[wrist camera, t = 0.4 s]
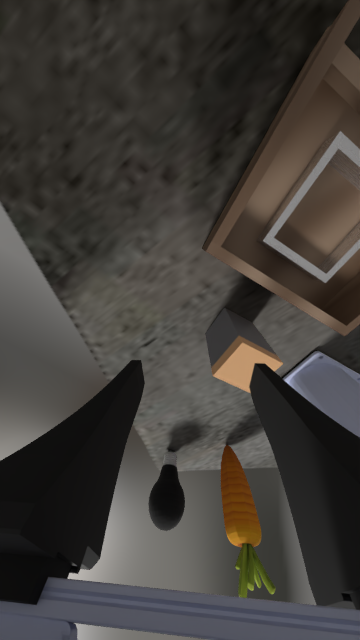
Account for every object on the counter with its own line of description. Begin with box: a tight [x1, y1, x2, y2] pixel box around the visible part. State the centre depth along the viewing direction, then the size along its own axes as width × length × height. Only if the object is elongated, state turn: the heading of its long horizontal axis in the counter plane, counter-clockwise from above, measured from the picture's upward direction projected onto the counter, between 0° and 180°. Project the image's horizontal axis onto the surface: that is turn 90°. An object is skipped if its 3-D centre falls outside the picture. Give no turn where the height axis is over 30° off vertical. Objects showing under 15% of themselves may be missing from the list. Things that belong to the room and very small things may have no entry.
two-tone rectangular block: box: [205, 307, 283, 393], centre depth 17 cm, size 4×4×7 cm
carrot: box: [221, 445, 275, 598], centre depth 24 cm, size 5×5×15 cm
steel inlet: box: [256, 131, 360, 283], centre depth 13 cm, size 7×7×2 cm
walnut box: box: [202, 0, 360, 336], centre depth 13 cm, size 15×13×4 cm
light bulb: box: [149, 450, 185, 531], centre depth 29 cm, size 6×6×10 cm
